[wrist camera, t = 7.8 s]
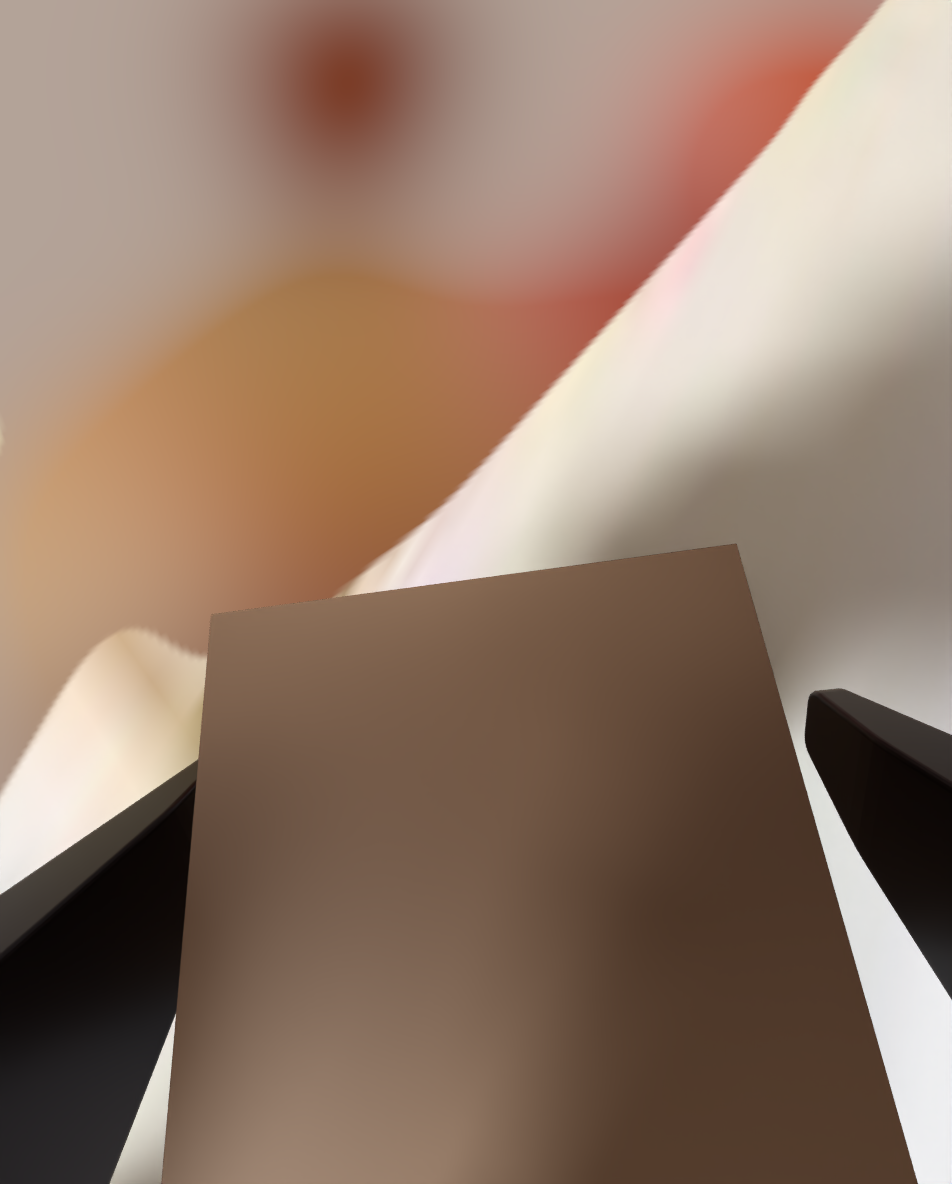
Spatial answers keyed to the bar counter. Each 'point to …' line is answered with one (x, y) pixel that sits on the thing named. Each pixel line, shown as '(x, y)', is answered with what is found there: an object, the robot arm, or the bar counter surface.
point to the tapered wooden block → (515, 898)
